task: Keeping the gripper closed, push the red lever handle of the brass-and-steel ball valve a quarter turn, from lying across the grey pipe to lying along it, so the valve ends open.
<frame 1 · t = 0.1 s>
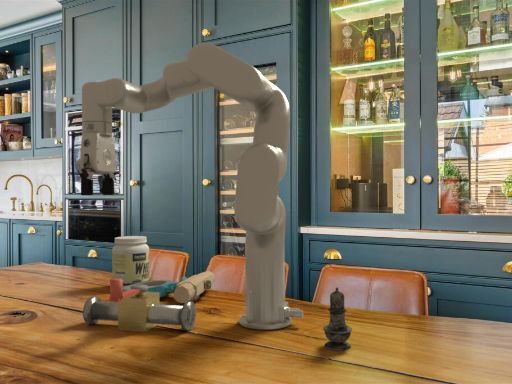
hand: (98, 195, 121), 31 cm above the table, fingers open, 9 cm apart
salt shaker: (337, 346, 93), on the table
butterfly valve: (163, 298, 138), on the table
valve body: (139, 326, 108), on the table
lever: (129, 285, 104), point 11 cm above the table, hinge at 0.0°
supplement tub: (131, 288, 153), on the table
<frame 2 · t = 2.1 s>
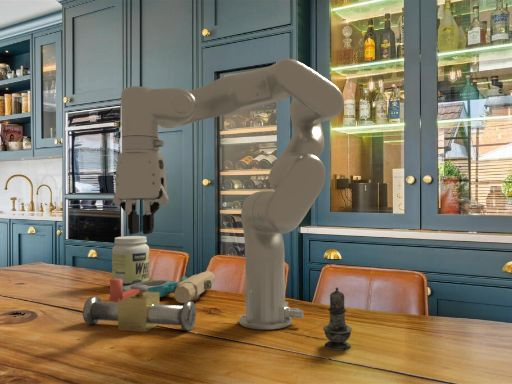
hand: (141, 232, 97), 23 cm above the table, fingers closed
nothing on the table moved.
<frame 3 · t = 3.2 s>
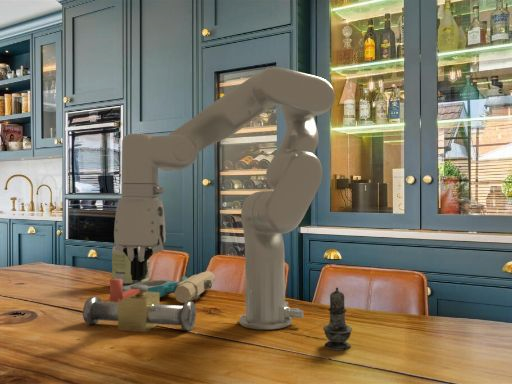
hand: (138, 279, 97), 13 cm above the table, fingers closed
nothing on the table moved.
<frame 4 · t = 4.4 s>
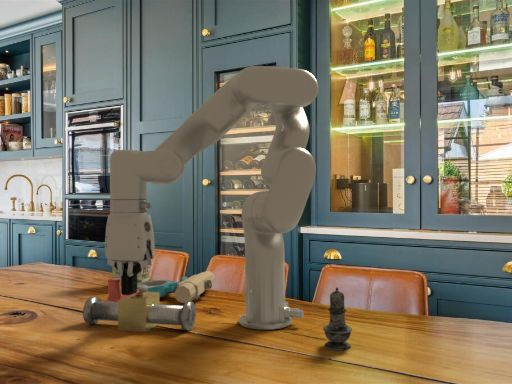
hand: (129, 293, 98), 10 cm above the table, fingers closed
lever: (128, 285, 104), point 11 cm above the table, hinge at -2.7°, touching gripper
everything else where it was.
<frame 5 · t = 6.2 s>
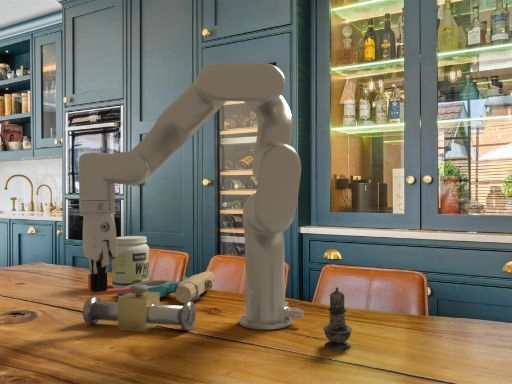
hand: (99, 290, 102), 10 cm above the table, fingers closed
lever: (118, 283, 106), point 11 cm above the table, hinge at -56.0°, touching gripper
everything else where it was.
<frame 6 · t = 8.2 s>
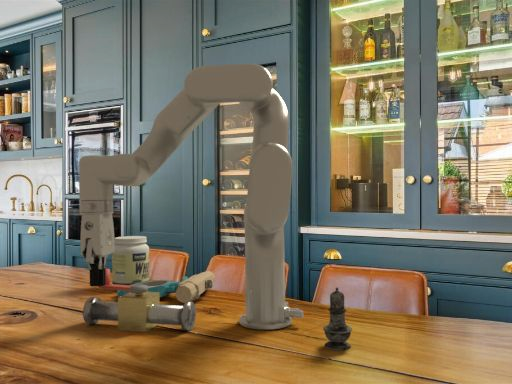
hand: (97, 285, 108), 10 cm above the table, fingers closed
lever: (122, 280, 110), point 11 cm above the table, hinge at -96.9°
everything else where it was.
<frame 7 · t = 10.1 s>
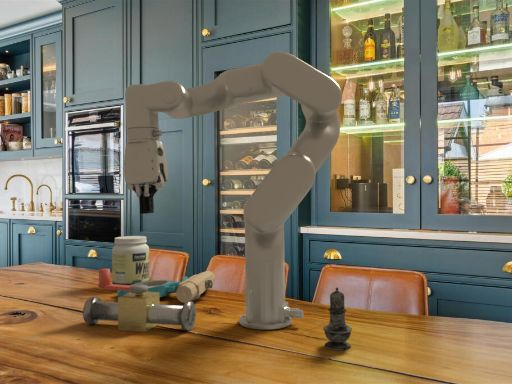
hand: (147, 213, 110), 27 cm above the table, fingers closed
nothing on the table moved.
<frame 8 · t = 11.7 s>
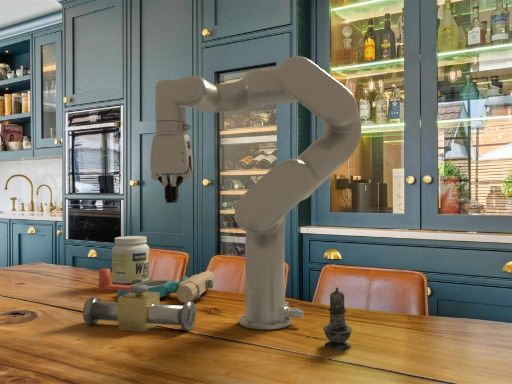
hand: (171, 202, 116), 29 cm above the table, fingers closed
nothing on the table moved.
at the end: lever at -97° (first picture: +0°); lever touching nothing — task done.
